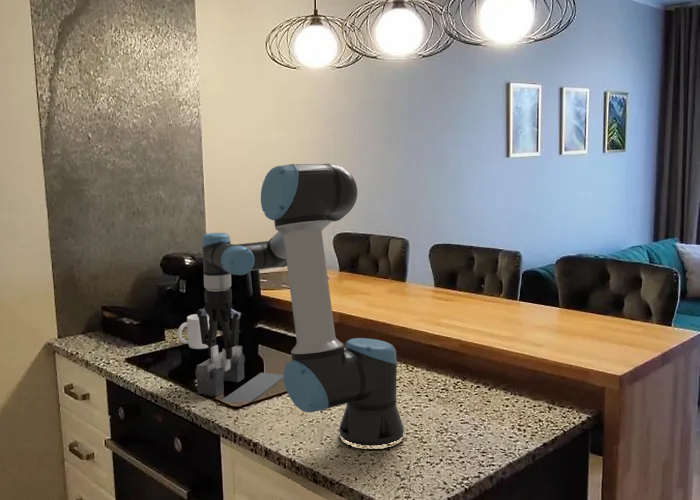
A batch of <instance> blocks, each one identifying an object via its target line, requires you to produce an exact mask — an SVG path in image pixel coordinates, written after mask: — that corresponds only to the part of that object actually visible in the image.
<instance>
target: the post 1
mask: <svg viewBox="0 0 700 500" xmlns="http://www.w3.org/2000/svg"><path fill="white" fill-rule="evenodd" d="M194 372H195V377H196V378H197V368H196V369H195V371H194ZM223 375H224V368H218V369H217V370H215V371H213V378H211V379H210V380H208V381H201V380H197V379H196V391H197V392H196V394H197V395H198V394H204V395H203V396H206V395H209V396H208V397H213V396H216V397H215V398H217V397H219V396H220V395H222V394H223V393H224V391H225V389H224V388H225V387H224V386H225V385H224V381H223Z"/></svg>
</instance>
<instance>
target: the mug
mask: <svg viewBox="0 0 700 500" xmlns="http://www.w3.org/2000/svg"><path fill="white" fill-rule="evenodd" d="M207 320H208V328H209V316H208V314H207ZM185 328H187V339H185V338H183V336H182V335H183V333H182V332H183V330H184V329H185ZM177 338H178V340H179V342H180V343H182V344H185V345H186V344H188V347H189V348H190V349H192V350H204V349H205V350H206V349H208V346H207V345H206V344H202V340H201V332H200V323H199V318H198V315H197V313H196V314H195V313H194V314H190V315H188V316H187V317H186V321H185V322H183V323H181V325H179V327H178V329H177Z"/></svg>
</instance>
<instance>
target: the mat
mask: <svg viewBox="0 0 700 500" xmlns="http://www.w3.org/2000/svg"><path fill="white" fill-rule="evenodd" d="M282 380H284V374H278V373H268V372H259V373H258V374H257V375H256V376H254V377H253V378H251V379H249V380H248V381H247V382H246V383H243V384H242V385H241V386H240V387H237V389H235V390H234V391H232V392H231V393H229V394H228V395H226V396H225V397H224V398H222V399H221V400H220V401H227V402H238V401H244V400H246V401H247V400H248V401H252V400H254V399H255V400H257V399H258V398H259V397H261V396H262V395H264V392H265V393H266V392H267V391H268V390H270V389H271V388H273V387H274V386H275V385H276V384H278V383H279V382H281V381H282ZM260 395H261V396H260ZM257 397H258V398H257ZM256 398H257V399H256ZM255 400H254V401H255Z"/></svg>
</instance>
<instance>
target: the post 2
mask: <svg viewBox="0 0 700 500" xmlns="http://www.w3.org/2000/svg"><path fill="white" fill-rule="evenodd" d="M245 358H246V357H245V355H244V354H243V355H240V356H238V357H237V358H235V359H234V365H233V366H231V367H230V369H229V370H227V371H224V375H223V382H229V383H238V384H239V383H240V382H241V381H242V380H244V379H245V362H246V361H245V360H246V359H245Z"/></svg>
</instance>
